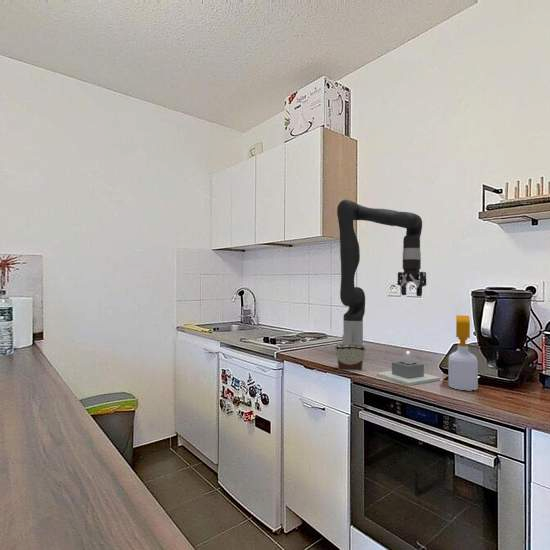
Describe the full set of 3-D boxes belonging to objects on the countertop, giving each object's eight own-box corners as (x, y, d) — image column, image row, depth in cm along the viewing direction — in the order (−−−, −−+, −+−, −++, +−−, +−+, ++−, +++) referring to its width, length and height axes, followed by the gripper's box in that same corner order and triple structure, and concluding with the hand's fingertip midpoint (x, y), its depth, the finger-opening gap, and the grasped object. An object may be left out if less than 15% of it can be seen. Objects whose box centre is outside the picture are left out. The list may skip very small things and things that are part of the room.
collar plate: (376, 375, 148) (376, 361, 148) (406, 371, 155) (406, 357, 155) (408, 385, 134) (408, 369, 134) (440, 380, 141) (440, 365, 141)
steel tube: (400, 374, 146) (400, 350, 146) (408, 373, 147) (408, 349, 147) (408, 377, 142) (408, 352, 142) (416, 375, 144) (416, 351, 144)
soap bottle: (476, 385, 134) (476, 315, 134) (478, 392, 126) (478, 317, 126) (448, 382, 138) (448, 314, 138) (448, 389, 130) (448, 316, 130)
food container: (363, 367, 162) (363, 343, 162) (365, 370, 156) (365, 345, 156) (334, 366, 163) (334, 342, 163) (334, 369, 157) (334, 345, 157)
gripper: (393, 259, 174) (393, 295, 174) (418, 257, 161) (418, 296, 161) (405, 259, 178) (405, 294, 177) (430, 258, 165) (430, 296, 165)
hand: (411, 295), depth 169 cm, fingers open, 8 cm apart
